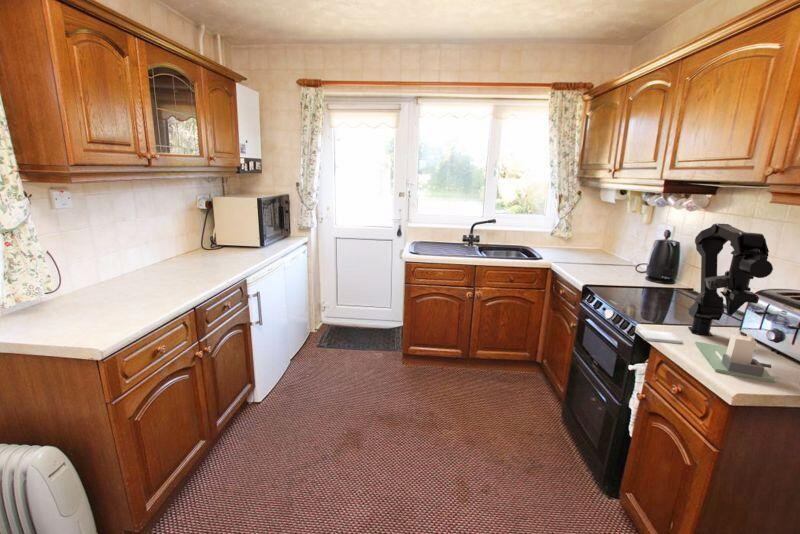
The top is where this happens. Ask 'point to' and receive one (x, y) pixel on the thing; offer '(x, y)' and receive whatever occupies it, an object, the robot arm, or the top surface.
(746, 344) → the plug
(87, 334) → the top surface
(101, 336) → the top surface
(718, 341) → the top surface
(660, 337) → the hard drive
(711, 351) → the board
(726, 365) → the header
